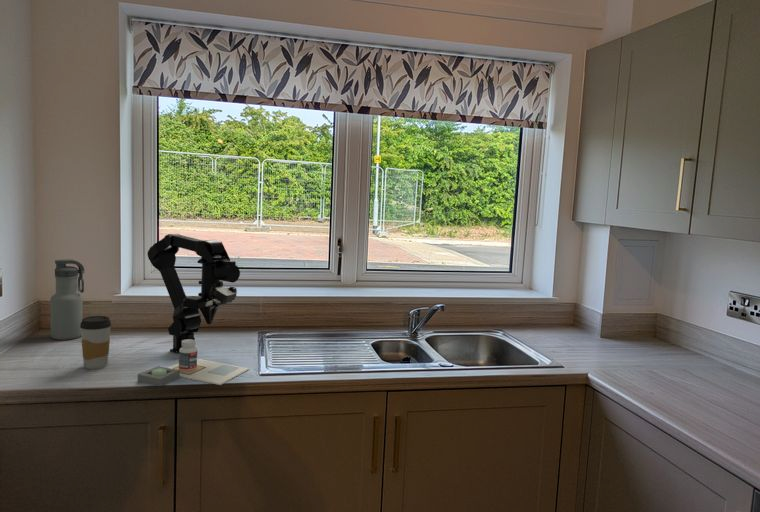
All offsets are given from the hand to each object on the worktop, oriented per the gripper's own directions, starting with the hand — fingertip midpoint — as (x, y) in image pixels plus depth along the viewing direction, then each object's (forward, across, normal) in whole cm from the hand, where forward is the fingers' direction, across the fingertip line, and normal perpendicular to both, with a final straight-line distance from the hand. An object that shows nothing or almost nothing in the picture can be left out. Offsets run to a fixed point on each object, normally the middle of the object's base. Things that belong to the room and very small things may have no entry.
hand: (209, 324), depth 168 cm
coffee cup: (+12, -24, +22) cm, 35 cm away
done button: (+12, -23, -2) cm, 26 cm away
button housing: (+12, -23, -2) cm, 26 cm away
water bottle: (+12, -9, +56) cm, 58 cm away
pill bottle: (+11, -12, -3) cm, 17 cm away
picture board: (+12, -10, -8) cm, 17 cm away
